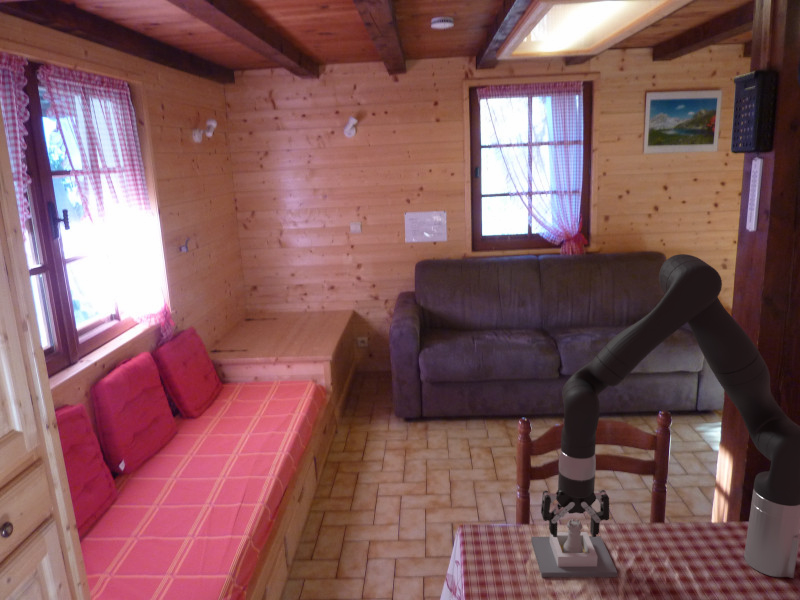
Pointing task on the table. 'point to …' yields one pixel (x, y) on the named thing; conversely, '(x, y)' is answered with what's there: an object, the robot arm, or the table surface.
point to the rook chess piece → (573, 538)
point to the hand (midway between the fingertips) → (573, 534)
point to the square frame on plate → (573, 557)
